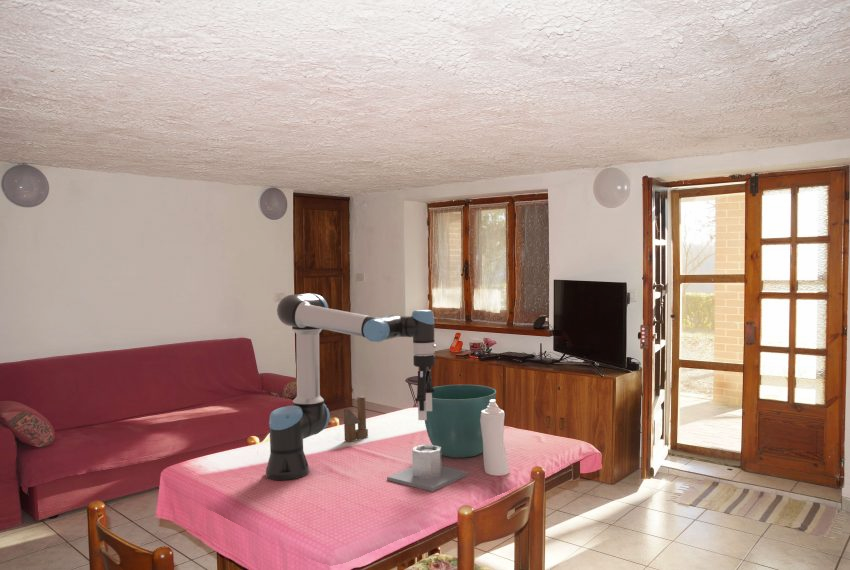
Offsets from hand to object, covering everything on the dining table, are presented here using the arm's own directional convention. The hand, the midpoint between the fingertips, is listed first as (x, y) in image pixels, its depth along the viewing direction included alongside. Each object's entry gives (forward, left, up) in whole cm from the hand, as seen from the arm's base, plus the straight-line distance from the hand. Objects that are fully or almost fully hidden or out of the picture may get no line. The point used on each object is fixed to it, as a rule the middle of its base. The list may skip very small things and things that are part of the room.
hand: (425, 415), depth 213 cm
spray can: (+20, -15, -22) cm, 33 cm away
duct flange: (0, 0, -22) cm, 22 cm away
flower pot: (+32, +9, -22) cm, 40 cm away
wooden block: (+23, +58, -22) cm, 66 cm away
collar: (0, 0, -21) cm, 21 cm away
